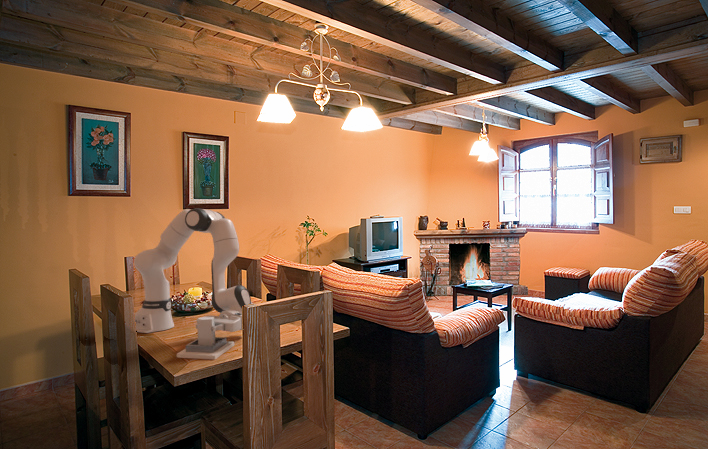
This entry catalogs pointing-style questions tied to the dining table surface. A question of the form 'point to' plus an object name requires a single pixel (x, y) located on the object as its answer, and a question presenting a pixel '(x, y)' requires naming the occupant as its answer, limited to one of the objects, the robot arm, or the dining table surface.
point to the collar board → (205, 355)
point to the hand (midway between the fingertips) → (204, 328)
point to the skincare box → (206, 331)
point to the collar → (206, 349)
